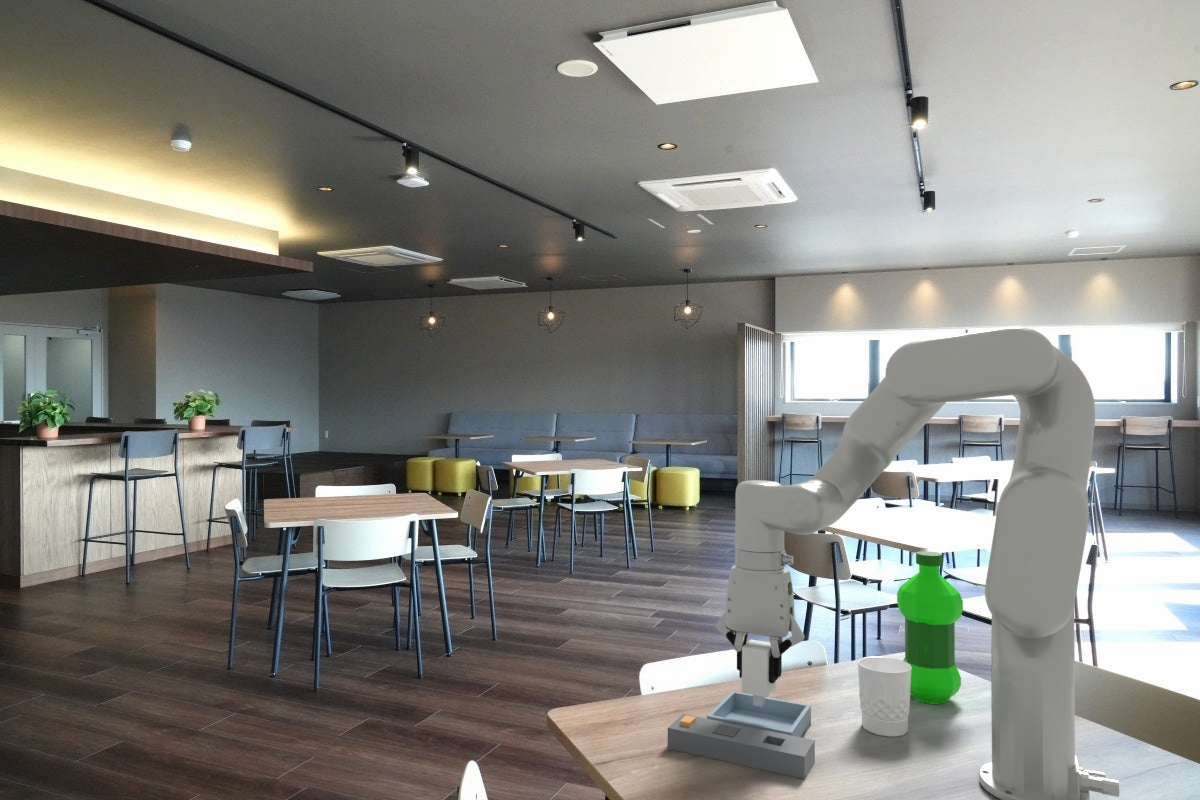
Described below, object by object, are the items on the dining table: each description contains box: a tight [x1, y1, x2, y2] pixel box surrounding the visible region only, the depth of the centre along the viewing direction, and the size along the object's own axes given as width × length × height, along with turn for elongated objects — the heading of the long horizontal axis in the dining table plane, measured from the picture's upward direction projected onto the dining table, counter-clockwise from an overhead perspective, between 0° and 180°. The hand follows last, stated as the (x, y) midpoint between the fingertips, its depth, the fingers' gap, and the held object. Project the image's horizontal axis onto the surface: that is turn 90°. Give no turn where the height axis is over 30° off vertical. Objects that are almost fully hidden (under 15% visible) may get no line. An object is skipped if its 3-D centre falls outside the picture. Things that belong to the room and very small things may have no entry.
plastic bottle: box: [896, 550, 964, 705], centre depth 134 cm, size 10×10×25 cm
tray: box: [706, 690, 812, 738], centre depth 120 cm, size 13×12×3 cm
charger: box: [741, 639, 777, 707], centre depth 120 cm, size 4×5×9 cm
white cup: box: [857, 655, 912, 738], centre depth 121 cm, size 8×8×10 cm
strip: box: [667, 713, 816, 780], centre depth 111 cm, size 20×6×4 cm, turn 62°
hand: (758, 676), depth 120 cm, fingers closed on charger, 4 cm apart
